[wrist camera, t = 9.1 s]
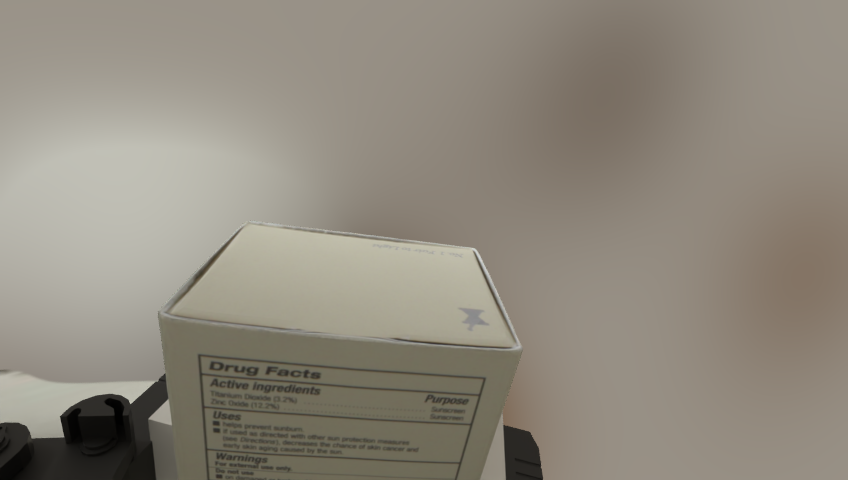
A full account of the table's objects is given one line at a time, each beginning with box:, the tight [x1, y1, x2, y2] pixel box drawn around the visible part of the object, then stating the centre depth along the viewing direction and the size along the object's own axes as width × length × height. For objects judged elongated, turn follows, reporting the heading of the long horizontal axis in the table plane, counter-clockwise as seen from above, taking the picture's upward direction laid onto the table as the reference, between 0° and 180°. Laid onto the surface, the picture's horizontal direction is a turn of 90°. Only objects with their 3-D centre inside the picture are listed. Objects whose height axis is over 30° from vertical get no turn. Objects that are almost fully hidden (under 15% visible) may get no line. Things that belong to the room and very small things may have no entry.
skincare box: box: [158, 221, 523, 480], centre depth 11 cm, size 6×4×12 cm
